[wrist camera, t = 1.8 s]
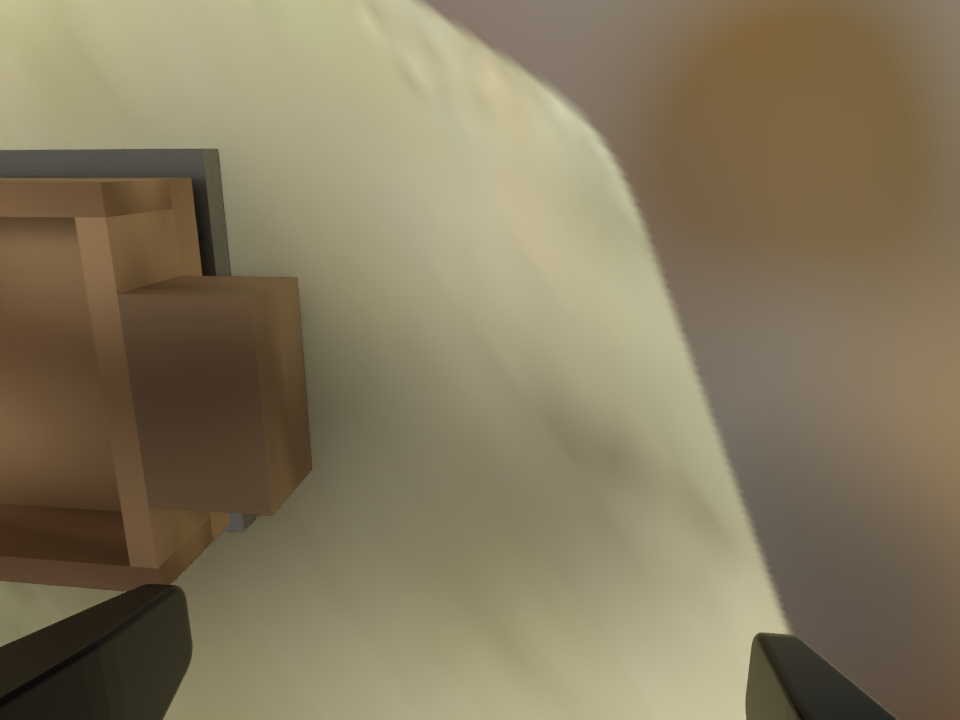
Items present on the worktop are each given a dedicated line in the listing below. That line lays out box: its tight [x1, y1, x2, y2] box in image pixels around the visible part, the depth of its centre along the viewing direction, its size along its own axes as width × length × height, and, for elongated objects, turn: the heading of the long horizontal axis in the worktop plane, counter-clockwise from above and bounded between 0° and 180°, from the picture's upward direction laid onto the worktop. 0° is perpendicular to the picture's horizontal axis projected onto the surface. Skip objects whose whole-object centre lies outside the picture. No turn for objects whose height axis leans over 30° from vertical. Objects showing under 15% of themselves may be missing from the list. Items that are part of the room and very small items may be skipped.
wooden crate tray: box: [0, 178, 312, 591], centre depth 18 cm, size 10×12×4 cm
